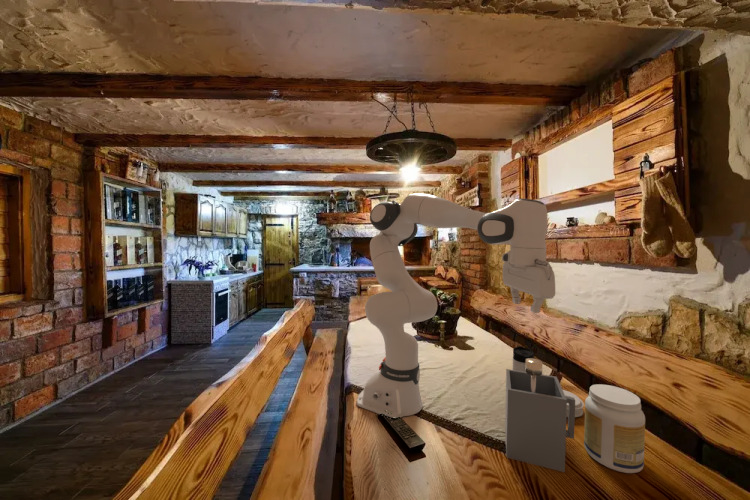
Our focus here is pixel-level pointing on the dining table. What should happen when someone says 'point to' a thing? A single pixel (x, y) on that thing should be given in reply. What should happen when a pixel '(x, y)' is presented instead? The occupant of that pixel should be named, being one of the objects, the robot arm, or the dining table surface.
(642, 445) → the supplement tub
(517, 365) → the travel mug
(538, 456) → the box
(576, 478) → the dining table surface
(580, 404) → the lid
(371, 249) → the robot arm
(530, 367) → the plunger
